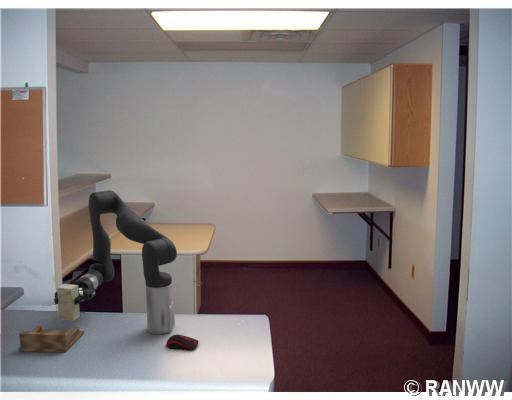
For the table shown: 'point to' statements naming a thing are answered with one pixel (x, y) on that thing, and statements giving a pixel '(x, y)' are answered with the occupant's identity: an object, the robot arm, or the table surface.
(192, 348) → the computer mouse
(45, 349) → the tray
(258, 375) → the table surface
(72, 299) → the skincare box
